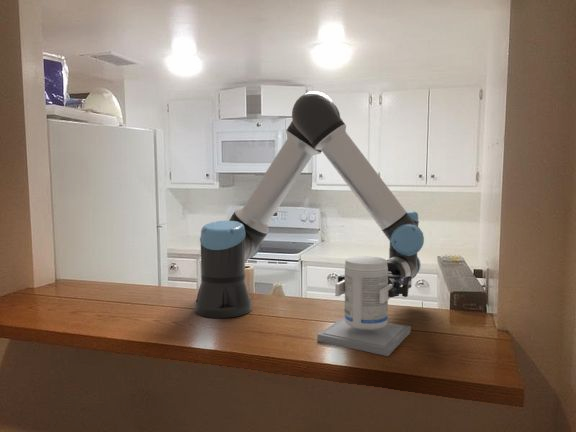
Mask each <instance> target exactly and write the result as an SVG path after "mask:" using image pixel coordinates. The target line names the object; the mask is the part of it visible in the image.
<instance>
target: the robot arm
mask: <svg viewBox="0 0 576 432" xmlns="http://www.w3.org/2000/svg"><path fill="white" fill-rule="evenodd" d="M291 120H292V121H291V122H290V124H289V125H288V127H287V128H286V130H285V134H286V140H285V142H284V143H283V145H282V146H281V148H280V149H279V151H278V153H277V154H276V156H275V157H274V159H273V160H272V162H271V163H270V165H269V166H268V168H267V169H266V171H265V173H264V175H263V176H262V177H261V179H260V181H259V182H258V184H257V185H256V187H255V189H254V191H253V192H252V193H251V195H250V196H249V198H248V199H247V201H246V203H245V204H244V206H243V207H242V208H238V209H235V210H234V212H233V213H232V215H231V216H230V218H229V220H220V221H219V220H218V221H213V222H209V223H206V224H204V225H203V226H202V228H201V229H200V237H199V243H200V276H201V277H200V278H201V279H200V285H199V289H198V292H197V295H196V299H195V301H194V312H195V314H197V315H198V316H201V317H205V318H211V319H213V318H214V319H225V318H226V319H228V318H235V317H240V316H243V315H247V314H248V313H250V312H251V311H252V307H253V306H252V303H253V302H252V298H251V296H250V293H249V289H248V285H247V284H246V283H247V282H246V261H248V260H250V259H252V258H253V257H255V255H257V254H258V252H260V249H261V247H262V244H263V241H264V240H265V238H266V237H267V235H268V233H269V232H270V230H269V222H270V221H271V219H272V218H273V216H274V215H275V213H276V212H277V211H278V209H279V207H280V206H281V204H282V203H283V201H284V199H285V198H286V197H287V195H288V194H289V192H290V190H291V189H292V188H293V186H294V185H295V183H296V182H297V180H298V179H299V177H300V176H301V173H302V172H303V171H304V169H305V167H306V166H307V165H308V163H309V162H310V160H311V158H312V157H313V156H315V155H316V156H317V155H320V154H321V153H323V155H324V156H325V157H326V158H327V160H328V161H329V163H330V164H331V165H332V166H333V168H334V169H335V170H336V171H337V173H338V174H339V175H340V177H341V178H342V179H343V181H344V182H345V183H346V185H347V187H349V189H350V190H351V191H352V193H353V194H354V195H355V197H356V198H357V199H358V201H359V202H360V203H361V205H362V206H363V208H364V209H365V210H366V211H367V213H368V214H369V216H370V217H371V218H372V219H373V220H374V222H375V223H376V224H377V226H378V227H379V228H380V230H381V231H382V233H383V234H384V236H386V238H387V239H388V241H389V248H388V249H389V251H388V257H389V258H388V259H386V260H387V266H388V285H387V286H386V287H384V288H383V289H381V290H380V303H384V302H386V301H387V300H388V301H389V299H391V298H396V297H399V296H400V295H401V297H404V298H406V297H408V296H409V289H410V288H412V280H413V279H414V278H415V277H416V276H417V275H418V274H419V272H420V270H421V267H422V265H421V260H420V258H419V257H418V253H419V252H420V251H421V250H422V248H423V247H424V246H423V245H424V243H425V236H424V232H423V231H422V230H421V228H420V227H419V224H420V221H419V214H418V212H416V211H414V210H413V211H412V210H406V209H405V208H404V207H403V205H402V204H401V203H400V201H399V200H398V199H397V197H396V196H395V195H394V194H393V192H392V191H391V189H390V188H389V187H388V186H387V184H386V183H385V182H384V180H383V179H382V178H381V176H380V175H379V174H378V172H377V171H376V170H375V168H374V167H373V166H372V164H371V163H370V162H369V160H368V159H367V158H366V157H365V155H364V154H363V152H362V151H361V150H360V149H359V147H358V146H357V145H356V143H355V142H354V141H353V139H352V138H351V136H349V134H348V132H347V131H346V129H347V125H346V123H345V122H344V121H343V119H342V118H341V114H340V111H339V108H338V107H337V105H336V104H335V102H334V101H333V100H332V99H331V98H330V97H329V96H328V95H326V94H325V93H323V92H320V91H308V92H307V93H304V94H303V95H301V96H299V98H297V100H296V101H295V103H294V104H293V107H292V110H291ZM334 290H335V291H334V293H335V294H334V295H335V297H340V296H342V295H345V274H343V275H338V276H337V283H335V289H334Z"/></svg>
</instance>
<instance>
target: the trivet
mask: <svg viewBox="0 0 576 432" xmlns="http://www.w3.org/2000/svg"><path fill="white" fill-rule="evenodd" d="M410 334H411V326H410V325H405V324H398V323H393V322H388V321H387V324H386V325H385V326H384V327H382V328H379V329H374V330H368V329H357V328H353V327H351V326H349V325H348V324H347V323H346V322H345V316H343V317H342V318H340V319H339V320H337V321H335V322H334V323H333V324H331V325H330V326H328V327H327V328H325V329H324V330H322V331H320V332H319V333H317V339H316V340H317V342H321V343H326V344H330V345H334V346H339V347H345V348H348V349H353V350H358V351H362V352H368V353H370V354H371V353H372V354H376V355H381V356H385V357H389V356H390V355H391V354H392V352H394V351H395V349H396V348H397V347H398V346H400V344H401V343H402V342H403V341H404V340H405V339H406V338H407V337H408V336H409V335H410Z"/></svg>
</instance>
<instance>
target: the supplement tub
mask: <svg viewBox="0 0 576 432" xmlns="http://www.w3.org/2000/svg"><path fill="white" fill-rule="evenodd" d="M387 260H388V259H386V258H383V257H378V256H377V257H376V256H366V255H365V256H363V255H362V256H352V257H351V256H350V257H348V258H345V260H344V261H345V263H344V264H345V265H344V275H345V293H344V317H345V322H346V323H347V324H348V325H349V326H351V327H353V328H357V329H368V330H374V329H379V328H382V327H384V326H385V325H386V324H387V322H388V319H389V318H388V315H389V314H388V311H389V310H388V309H389V308H388V307H389V306H388V305H389V302H388V301H389V299H388V300H387V301H386V302H384V303H380V290H381V289H383V288H384V287H386V286H387V285H388V266H387Z"/></svg>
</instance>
